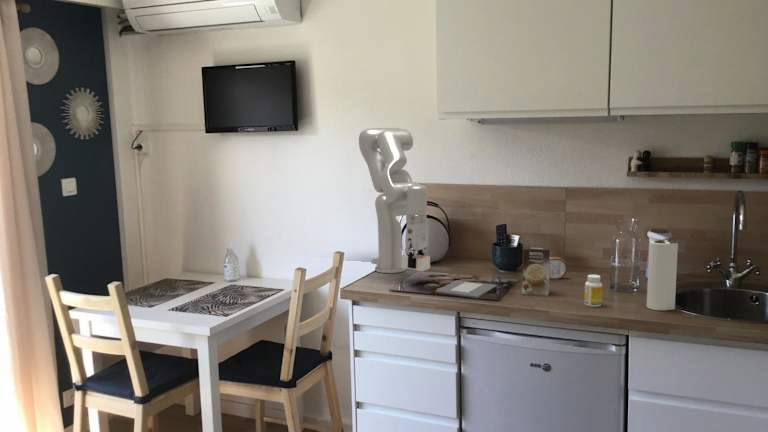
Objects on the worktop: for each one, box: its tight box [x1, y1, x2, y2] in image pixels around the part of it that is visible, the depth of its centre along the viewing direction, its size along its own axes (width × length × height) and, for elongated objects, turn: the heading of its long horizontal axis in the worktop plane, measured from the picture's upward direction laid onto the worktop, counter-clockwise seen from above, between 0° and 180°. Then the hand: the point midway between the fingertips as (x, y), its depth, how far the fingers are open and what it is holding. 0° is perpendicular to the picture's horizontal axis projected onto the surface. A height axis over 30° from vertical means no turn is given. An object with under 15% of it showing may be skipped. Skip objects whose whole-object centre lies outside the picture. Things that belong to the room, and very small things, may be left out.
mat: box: [434, 279, 498, 299], centre depth 231 cm, size 16×18×1 cm
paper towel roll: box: [646, 240, 679, 311], centre depth 203 cm, size 7×6×21 cm
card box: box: [402, 253, 431, 272], centre depth 242 cm, size 9×6×5 cm, turn 54°
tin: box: [549, 256, 568, 280], centre depth 245 cm, size 15×3×8 cm, turn 84°
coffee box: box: [521, 245, 551, 297], centre depth 224 cm, size 9×6×16 cm
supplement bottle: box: [583, 274, 603, 308], centre depth 209 cm, size 5×5×10 cm
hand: (416, 265), depth 242 cm, fingers closed on card box, 5 cm apart
